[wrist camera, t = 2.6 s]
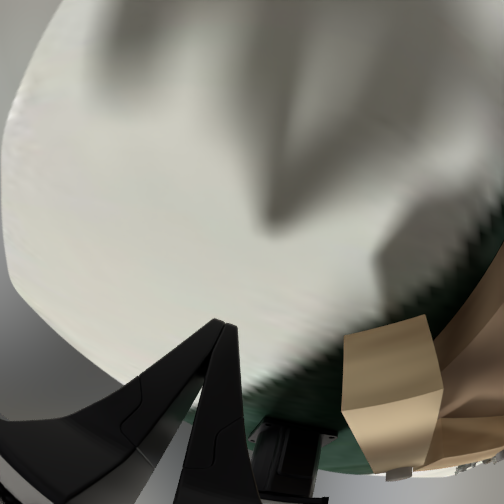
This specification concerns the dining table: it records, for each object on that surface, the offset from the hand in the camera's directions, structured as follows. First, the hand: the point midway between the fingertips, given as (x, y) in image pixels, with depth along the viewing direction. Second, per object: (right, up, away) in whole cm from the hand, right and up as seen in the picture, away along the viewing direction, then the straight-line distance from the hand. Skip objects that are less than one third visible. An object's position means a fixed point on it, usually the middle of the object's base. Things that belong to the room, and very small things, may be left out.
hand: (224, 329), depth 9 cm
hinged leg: (+8, -5, +2) cm, 9 cm away
